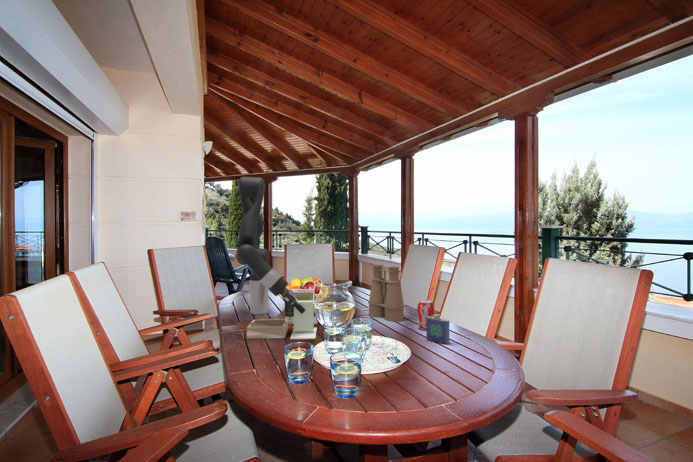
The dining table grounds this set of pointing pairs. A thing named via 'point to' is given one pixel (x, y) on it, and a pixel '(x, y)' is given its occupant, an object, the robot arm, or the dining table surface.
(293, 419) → the dining table surface
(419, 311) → the soda can
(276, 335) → the wooden box
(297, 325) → the cover plate
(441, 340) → the flask
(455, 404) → the dining table surface
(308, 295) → the grey electronic device
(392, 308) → the binoculars
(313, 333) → the grey mat
